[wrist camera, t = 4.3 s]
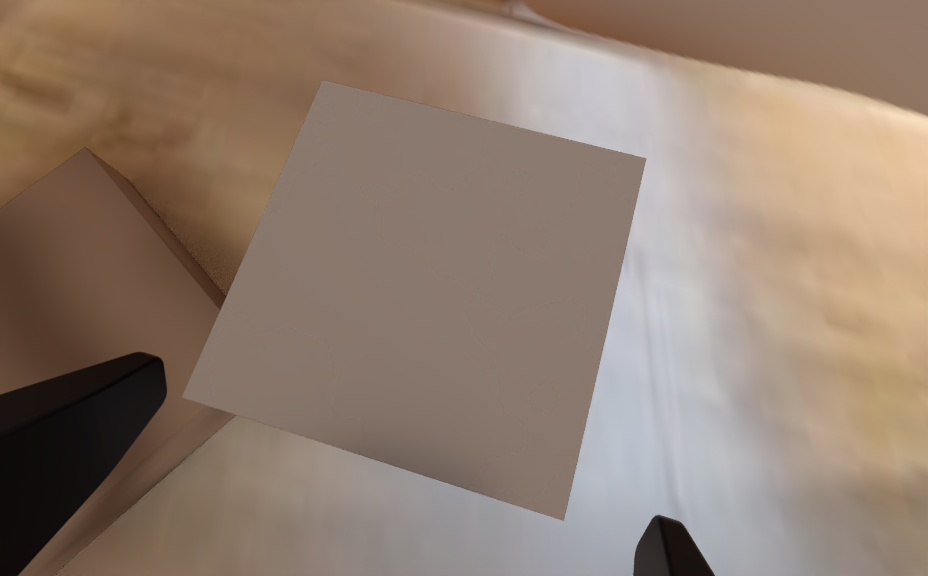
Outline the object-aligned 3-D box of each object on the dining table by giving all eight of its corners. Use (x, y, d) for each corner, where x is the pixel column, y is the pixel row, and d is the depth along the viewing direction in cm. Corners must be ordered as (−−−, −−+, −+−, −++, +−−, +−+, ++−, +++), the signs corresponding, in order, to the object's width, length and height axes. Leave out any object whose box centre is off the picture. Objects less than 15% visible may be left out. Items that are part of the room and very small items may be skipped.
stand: (28, 596, 17) (-43, 620, 15) (-115, 359, 20) (-195, 347, 18) (287, 369, 19) (260, 359, 17) (128, 179, 22) (85, 147, 20)
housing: (520, 491, 18) (593, 573, 7) (345, 435, 19) (134, 421, 7) (564, 316, 20) (683, 139, 8) (402, 271, 20) (306, 49, 9)
